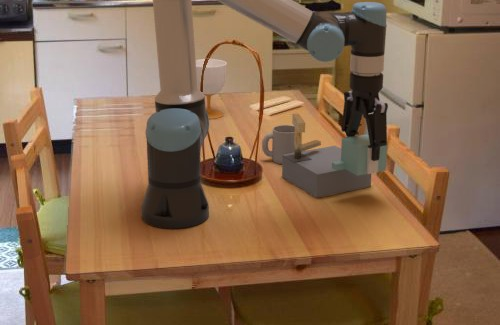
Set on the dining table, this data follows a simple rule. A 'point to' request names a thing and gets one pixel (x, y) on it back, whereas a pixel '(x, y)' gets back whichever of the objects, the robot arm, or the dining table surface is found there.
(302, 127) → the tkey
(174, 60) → the robot arm
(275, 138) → the cup
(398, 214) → the dining table surface
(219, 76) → the cup
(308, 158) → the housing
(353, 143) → the cover
